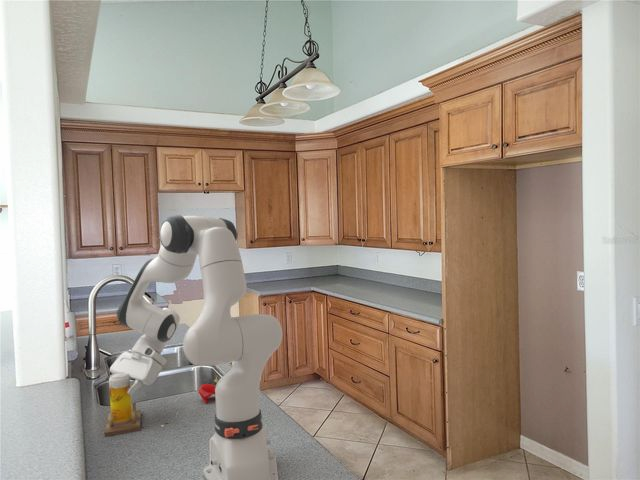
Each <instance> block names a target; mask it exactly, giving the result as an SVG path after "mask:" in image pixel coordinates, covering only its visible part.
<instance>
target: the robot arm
mask: <svg viewBox="0 0 640 480" xmlns="http://www.w3.org/2000/svg"><path fill="white" fill-rule="evenodd" d="M159 240H160V243H161V245H160V247H159V250H158V253H157V255H156V256H155V258H150V259H148V260H147V261H146V262H145V263H144V264H143V265H142V266H141V268H140V270H139V271H138V274H137V275H136V276H135V278H134V281H133V283H132V284H131V286H130V288H129V289H128V292H127V294H126V295H125V297H124V299H123V300H122V302H121V303H120V306H119V307H118V309H117V311H116V317H117V321H118V323H119V325H121V326H123V327H127V328H129V329H132V330H134V331H136V332H138V333H140V334H141V336H140V337H139V338H137V340H136V342H135V344H134V345H133V347H132V348H131V349H127V350H126V351H124V352H122V353H120V355H119V356H118V357H117V358H116V359H115V360H114V362H113V363H112V364H111V366H110V367H109V373H111V375H112V374H114V373H119V372H125V373H126V374H127V373H128V375H129V377H130V381H134V382H133V384H132V385H130V388H128V389H127V391H126V393H127V394H128V395H131V396H133V395H134V393H135V392H136V391H137V390H139V389H140V388H142V385H147V386H150V385H152V384H154V382H155V381H156V380H157V378H158V377H159V374H160V373H161V372H162V369H163V367H164V366H165V365H166V364H167V362H168V360H167V359H166V358H165V357H164V356H163V355H162V353H163V350H164V347H165V346H166V345H167V343H169V342H170V340H171V338H172V337H173V335H174V334H175V332H176V330H177V329H178V326H179V323H180V321H181V318H180V315H179V313H177V312H176V311H175V310H173V309H172V308H169V307H163V308H162V307H158V306H157V305H155V304H152V303H150V302H148V301H146V299H145V298H144V295H145V293H146V291H147V289H148V287H149V286H150V284H151V283H163V284H175V283H179V282H182V281H184V280H185V279H188V277H189V276H190V274H191V272H192V270H193V269H194V266H195V263H196V259H197V256H198V261H199V267H200V268H199V269H200V274H201V281H202V288H203V289H202V290H203V303H202V308H201V310H200V312H199V315H198V317H197V319H196V320H195V322H194V323H193V324H192V325H191V326H189V328H188V329H187V331H186V333H185V335H184V337H183V341H182V342H183V343H182V347H183V348H182V349H183V353H184V355H185V357H186V359H187V360H188V361H189V362H190V363H191V364H192V365H194V366H203V367H204V366H206V367H207V366H208V367H209V366H217V365H223V364H227V363H232V362H233V365H232V366H231V368H230V369H229V370H228V372H226V373H225V374H224V375H222V376H221V377H220V378H219V380H218V381H217V383H216V385H215V387H216V388H215V394H214V397H215V414H214V421H213V422H214V424H213V425H214V430H215V431H214V434H213V435H212V436H211V438H209V465H207V466H206V467H204V468H203V469H202V475H203V476H204V477H205V479H206V480H279V472H278V464H277V462H278V461H277V456H276V454H275V449H274V448H272V449H268V445H271V443H272V442H271V438H270V437H268V436H267V428H266V427H264V426H263V415H262V410H261V409H260V385H261V378H262V374H263V371H264V368H265V367H266V365H267V363H268V361H269V359H270V358H271V356H273V354H274V353H275V352H276V351H277V350H279V347H280V345H281V344H282V342H283V334H284V333H283V328H282V325H281V323H280V322H279V320H278V318H277V317H275V316H274V315H272V314H263V313H262V314H261V313H254V314H248V315H246V314H245V315H241V316H231V308H232V306H233V307H234V305H236V304H237V303H238V302H239V301H241V300H242V299H243V298H244V297H245V296H246V293H247V287H248V285H247V281H246V280H247V279H246V275H245V269H244V264H243V261H242V255H241V251H240V249H239V245H238V242H237V241H238V232H237V229H236V227H235V224H234V223H233V222H232V221H231V220H229V219H225V218H222V217H221V218H220V217H219V218H215V217H211V216H202V215H181V214H178V215H177V214H175V215H171V216H167V217H166V218H165V219H164V221H163V222H162V223H161V226H160V228H159Z"/></svg>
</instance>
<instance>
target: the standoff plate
mask: <svg viewBox="0 0 640 480" xmlns="http://www.w3.org/2000/svg"><path fill="white" fill-rule="evenodd" d="M131 407H132V410H131V416H132V418H131V419H130V421H129V422H127V423H124V424H114V419H113V413H111V412H110V413H109V414H108V415H107V419H106V423H105V428H104V437H110V436H116V435H122V434H127V433H134V432H138V431H141V421H142V420H141V419H142V418H141V416H142V412H141V411H142V410H141V409H137V402H131Z"/></svg>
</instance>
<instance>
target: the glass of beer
mask: <svg viewBox="0 0 640 480" xmlns="http://www.w3.org/2000/svg"><path fill="white" fill-rule="evenodd" d="M108 385H109V386H108V388H109V401H110V404H109V405H110V413H113V419H114V424H124V423H127V422H129V421H130V419H131V418H132V416H131V410H132V395H128V394H127V393H126V391H127V389H128V388H130V387H131V380H130V377H129V375H128V373H127V374H126V373H125V372H119V373H114V374H112V373H111V374H110V377H109V379H108Z"/></svg>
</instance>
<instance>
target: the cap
mask: <svg viewBox="0 0 640 480" xmlns="http://www.w3.org/2000/svg"><path fill="white" fill-rule="evenodd" d="M215 388H216V385H214V384H210V383H205V384H202V385H200V387H199V389H198V391H197V392H198V394H199V396H200V397H201V398H202V400H203V401H204V402H205V403H206V404H208V403H209V400H208V398H210V397H212V396H213V395H215Z"/></svg>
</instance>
